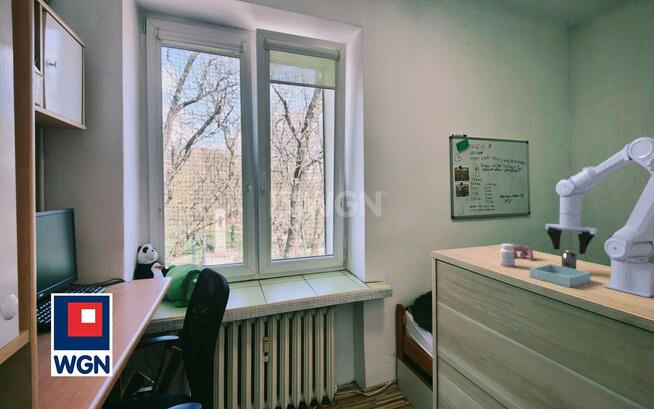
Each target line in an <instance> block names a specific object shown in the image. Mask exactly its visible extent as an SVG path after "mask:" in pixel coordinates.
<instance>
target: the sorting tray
mask: <svg viewBox="0 0 654 409" xmlns="http://www.w3.org/2000/svg"><path fill="white" fill-rule="evenodd" d="M591 274H592V272H590V271H585V270H580V269H577V268H576V269H572V268H567V267H562V265H556V264H552V263H547V264H543V265H539V266H535V267H530V268H529V278H532V279H535V280H539V281H543V282H546V283H551V284H554V285H558V286H561V287H565V288H568V289H569V288H570V289H571V288H573V287H577V286H580V285H584V284H587V283H590V282H591Z"/></svg>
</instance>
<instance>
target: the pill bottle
mask: <svg viewBox="0 0 654 409" xmlns="http://www.w3.org/2000/svg"><path fill="white" fill-rule="evenodd" d="M513 249H514V244H513V243H501V248H500V253H499V254H500V256H499V259H500V261H499V265H500V266H502V267H505V268H514V267H515V266H516V265H515V262H516V261H515V258H516V257H515V251H514V250H513Z"/></svg>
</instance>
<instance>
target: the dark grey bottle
mask: <svg viewBox="0 0 654 409" xmlns="http://www.w3.org/2000/svg"><path fill="white" fill-rule="evenodd" d="M561 266H562V267H567V268H572V269H577V252H575V251H574V250H570V249H567V250H566V249H565V250H564V251H563V250H562V251H561Z"/></svg>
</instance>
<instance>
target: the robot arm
mask: <svg viewBox="0 0 654 409" xmlns="http://www.w3.org/2000/svg"><path fill="white" fill-rule="evenodd" d="M634 162H636V163H637V164H639V165H640V166H642V167H643V168H645V169H646V170H647V171H648V172H649V173H650V174H651V176H650V178H649V179H648V182H647V184H646V185H645V188H644V189H643V191H642V192H641V195H640V197H639V199H638V201H637V203H636V204H635V206H634V209H633V210H632V212H631V214H630V216H629V217H628V220H627V222H626V224H625V225H624V226H623V227H621V228H620V229H618V230H616V231H615V232H614V233H613V235H612V236H611V237H610V238H609V239H607V240H606V241H605V242H604V245H603V246H604V251H605V253H606V255H607V256H608V257H609V259H610V282H609V283H605V284H603V287H604V288H608V289H611V290H616V291H619V292H624V293H629V294H633V295H637V296H640V297H645V298H651V297H653V296H654V263H652V262H649V257H651V256H653V255H654V234H653V233H654V137H649V136H648V137H647V136H646V137H645V136H644V137H642V136H641V137H639V138H637V139H635V140H633V141H632V142H629V143H628V144H626V145H625V146H624V147H623V148H622V149H621V150H619V151H618V152H617V153H615V154H614V155H612V156H611V157H609V158H607V160H605V161H603V162H601V163H600V164H599V165H597V166H585V167H583V168H582V170H581V171H580V172H579V173H576V174H575V175H571V176H570V178H568V179H560V180H559V181H558V182H557V184H556V185H555V191H556V194H558V195H559V223H548V222H547V223H545V230H546V233H547V235H548V236H549V238H550V240H551V243H552V245H553V249H554V250H556V251H557V250H560V247H561V236H562V231H564V232H571V233H572V232H573V233H577V236H578V243H579V246H578V247H579V249H578V251H579V252H578V253H579V254H580V255H585V254H586V251H587V248H588V247H589V245H590V243H591V241H592V240H593V238H594V237H595V235H597V234H598V228H597V227H590V226H583V225H581V224H582V223H581V220H582V200H583V198H584V195H585V194H586V192H587V190H588V189H589V188H592V187H594V186H596V185H597V184H599V183H601V182H603V181H604V180H605V179H606V175H609V174H610V173H612V172H615V171H616V170H618V169H621V168H622V167H624V166H627V165H628V164H631V163H634Z"/></svg>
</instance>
